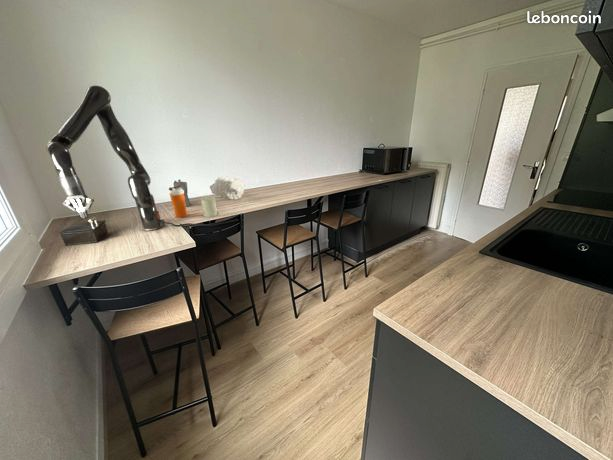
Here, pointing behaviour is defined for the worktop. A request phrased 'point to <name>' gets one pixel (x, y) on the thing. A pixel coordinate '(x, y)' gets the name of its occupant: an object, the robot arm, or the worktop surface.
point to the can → (209, 206)
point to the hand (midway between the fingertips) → (85, 218)
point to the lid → (83, 226)
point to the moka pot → (184, 187)
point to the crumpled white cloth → (227, 187)
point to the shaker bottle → (178, 201)
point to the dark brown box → (85, 236)
